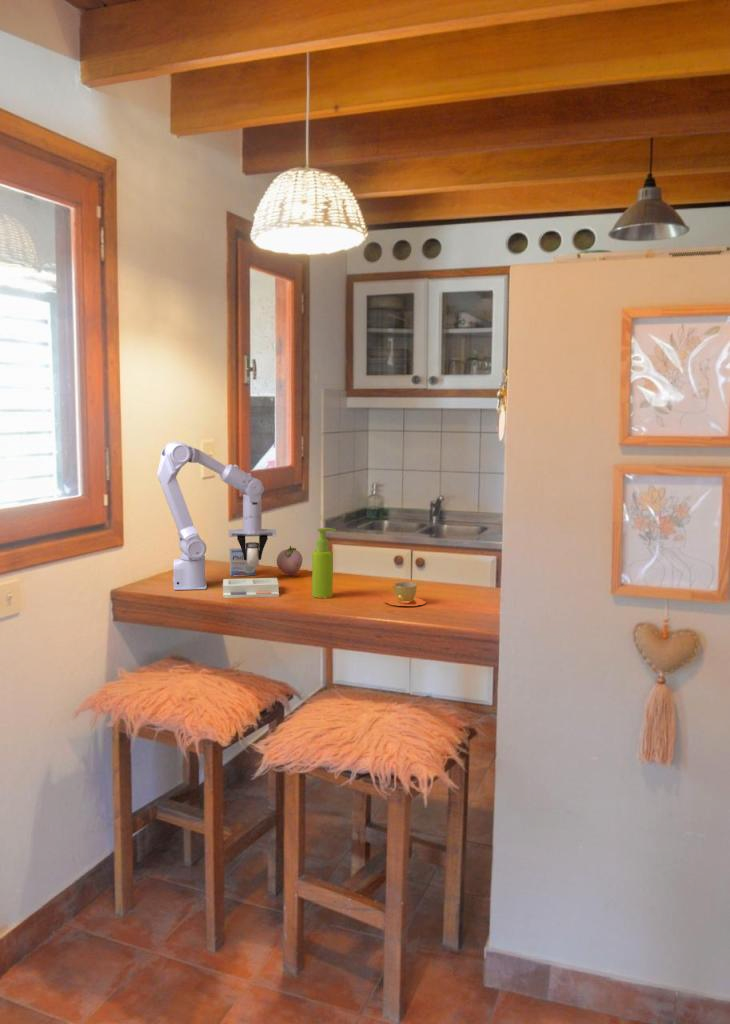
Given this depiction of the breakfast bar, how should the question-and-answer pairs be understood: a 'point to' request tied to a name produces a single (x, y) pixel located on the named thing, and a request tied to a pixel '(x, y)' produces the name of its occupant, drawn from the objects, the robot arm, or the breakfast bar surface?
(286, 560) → the decorative fruit
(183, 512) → the robot arm
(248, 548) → the white pill bottle
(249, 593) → the socket block
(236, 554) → the medicine box
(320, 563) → the soap dispenser
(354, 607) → the breakfast bar surface
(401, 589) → the cup
